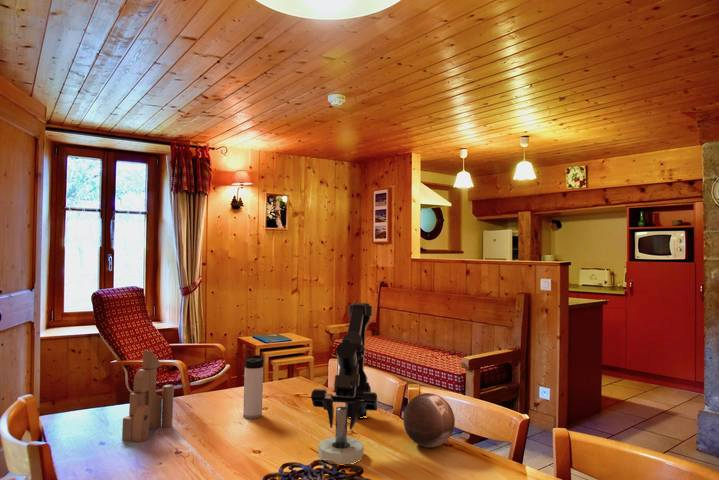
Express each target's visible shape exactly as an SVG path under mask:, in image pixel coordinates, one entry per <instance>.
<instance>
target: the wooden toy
mask: <svg viewBox="0 0 719 480" xmlns="http://www.w3.org/2000/svg"><path fill="white" fill-rule="evenodd" d="M142 351H143V352H142V366H141V367H142V368H140V369H138V370H137V371H136V373H135V374H134V377H133V392H131V393H130V394H129V406H128V407H129V410H128V411H129V413H128V415H127V416H125V417H122V430H121V431H122V435H121V440H122V441H126V442H136V443H142V442H144V441H147V440H148V439H149V433H150V432H149V431H150V430H155V429H158V428H159V427H161V428H166V429H168V428H171V427H173V421H174V420H173V419H174V418H173V417H174V416H173V415H174V414H173V413H174V394H175V393H174V392H175V391H174V388H175V386H174V385H173V384H165V385H163V386H162V396H160V395H158V394H157V390H156V389H157V369H158V368H160V367H161V366H162V363H161V362H160V361H159V359H158V357H156V355H155V354H154V353H153V352H152V350H151V349H143V350H142Z"/></svg>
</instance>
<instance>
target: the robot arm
mask: <svg viewBox="0 0 719 480" xmlns="http://www.w3.org/2000/svg"><path fill="white" fill-rule="evenodd" d="M347 313H348V314H347V315H348V316H350V318H349V324H348V329H347V333H346V334H345V335H343V336H342V339H341V343H339V344H338V346H336V348H335V349H336V350H335V352H336V353H335V354H336V358H337V364H338V366H339V367H338V368H339V370H338V374H335V376H334V383H333V385H334V386H333V391H334V393H335V394H332V393H331V392H330V393H329V392H327V389H324V388H314V389H313V390H312V391H311V394H310V395H311V396H310V398H311V402H312V405H313V407H315V408H323V410H324V411H327V415H328V420H329V427H330V428H331V429H333V425H334V413H335V411H334V403H344V404H345V406H344V407H347V408H348V412H347V416H348V417H351V418H350V419H351V420H350V419H349V420H350V422H349V430H352V429H353V428H354V426H355V424H356V422H357V420H359V419H358V418H360V417H363V416H366V415H367V413H368V412H367V411H371V412H374V411H378V406H379V403H378V402H379V401H378V394H377V393H376V392H373V391H372V387H371V385H370V382H368V380H369V379H368V376H367V375H366V373H365V370H364V369H365V354H366V352H367V350H366V334H367V327H369V324H370V323H371V322H372V317H373V314H374V305H373V306H372V305H371V303H368V302H352V304H348V309H347ZM348 417H347V418H348ZM363 418H364V417H363Z"/></svg>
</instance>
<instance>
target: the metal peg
mask: <svg viewBox="0 0 719 480" xmlns="http://www.w3.org/2000/svg"><path fill="white" fill-rule="evenodd" d="M347 412H348V408H347V407H345V406H338V407H336V408H335V436H334V437H335V448H338V449H345V448H347V437H348V417H347Z"/></svg>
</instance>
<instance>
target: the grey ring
mask: <svg viewBox="0 0 719 480" xmlns="http://www.w3.org/2000/svg"><path fill="white" fill-rule="evenodd" d="M364 445H365V444H363V442H362V441H361V440H359V439H356V438H353V437H349V436H347V448H345V449H338V448H335V436H334V437H327V438H326V439H323V440H321V441H320V443H319V444H318V458H319V459H320V458H321V459H329V460H333V461H335V462H336V463H338V464H351V463H354V462H356V461H358V460H360V459H361V458H362V456H363V457H364V447H365V446H364ZM362 459H363V458H362Z"/></svg>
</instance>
